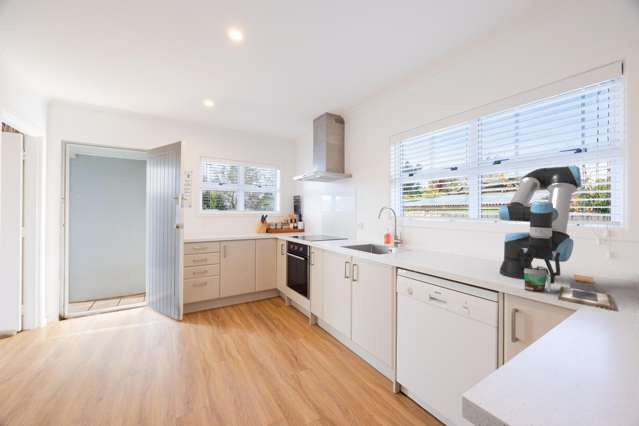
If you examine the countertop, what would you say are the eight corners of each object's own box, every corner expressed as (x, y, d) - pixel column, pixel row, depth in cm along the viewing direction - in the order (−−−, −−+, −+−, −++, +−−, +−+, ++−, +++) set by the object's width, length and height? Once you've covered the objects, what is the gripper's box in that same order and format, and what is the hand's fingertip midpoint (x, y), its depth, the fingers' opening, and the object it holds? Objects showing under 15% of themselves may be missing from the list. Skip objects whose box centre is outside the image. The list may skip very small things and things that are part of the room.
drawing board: (558, 299, 104) (558, 296, 104) (560, 288, 118) (560, 285, 118) (614, 310, 94) (614, 307, 94) (609, 297, 108) (610, 294, 108)
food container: (539, 295, 109) (541, 271, 109) (522, 290, 115) (524, 268, 114) (553, 290, 115) (554, 268, 114) (536, 286, 120) (537, 265, 120)
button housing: (570, 288, 119) (570, 281, 119) (570, 284, 125) (570, 278, 124) (595, 292, 113) (595, 285, 113) (594, 288, 119) (595, 281, 119)
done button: (572, 284, 119) (573, 277, 119) (573, 281, 123) (573, 274, 123) (593, 288, 114) (593, 280, 114) (592, 284, 119) (592, 277, 119)
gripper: (511, 235, 118) (508, 284, 119) (571, 240, 104) (568, 296, 105) (514, 234, 124) (511, 281, 124) (571, 238, 109) (568, 292, 110)
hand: (537, 288), depth 115 cm, fingers closed on food container, 7 cm apart
